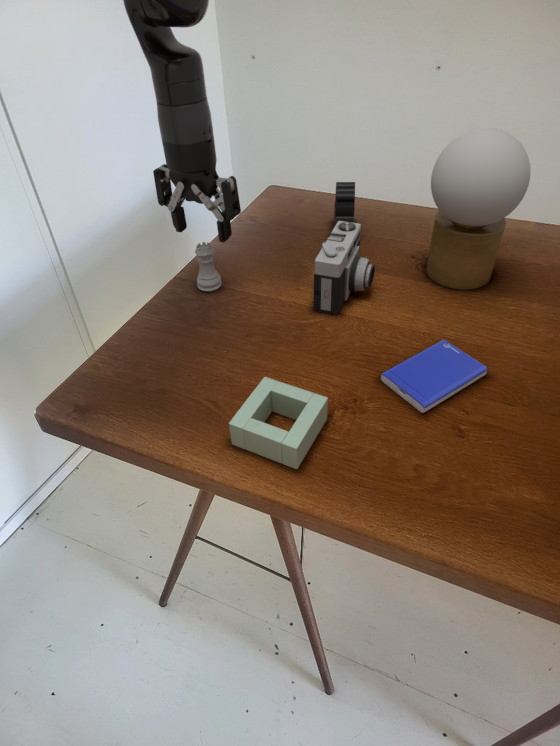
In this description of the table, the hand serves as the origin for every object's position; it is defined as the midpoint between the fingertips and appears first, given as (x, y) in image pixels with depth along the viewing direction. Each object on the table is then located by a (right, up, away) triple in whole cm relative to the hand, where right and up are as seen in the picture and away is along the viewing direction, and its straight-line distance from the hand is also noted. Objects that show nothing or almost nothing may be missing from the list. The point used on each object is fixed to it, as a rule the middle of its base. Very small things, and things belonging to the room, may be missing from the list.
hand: (203, 235), depth 86 cm
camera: (+24, -9, +4) cm, 26 cm away
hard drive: (+34, -24, -13) cm, 44 cm away
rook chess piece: (0, -8, +7) cm, 10 cm away
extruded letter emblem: (+25, +4, +18) cm, 32 cm away
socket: (+13, -30, -19) cm, 38 cm away
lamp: (+44, -6, +6) cm, 45 cm away
